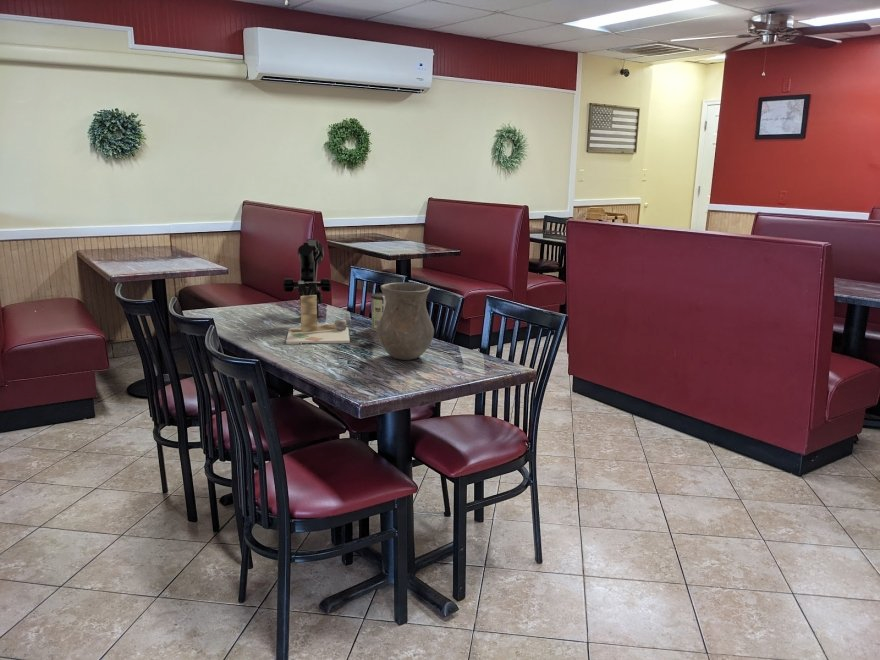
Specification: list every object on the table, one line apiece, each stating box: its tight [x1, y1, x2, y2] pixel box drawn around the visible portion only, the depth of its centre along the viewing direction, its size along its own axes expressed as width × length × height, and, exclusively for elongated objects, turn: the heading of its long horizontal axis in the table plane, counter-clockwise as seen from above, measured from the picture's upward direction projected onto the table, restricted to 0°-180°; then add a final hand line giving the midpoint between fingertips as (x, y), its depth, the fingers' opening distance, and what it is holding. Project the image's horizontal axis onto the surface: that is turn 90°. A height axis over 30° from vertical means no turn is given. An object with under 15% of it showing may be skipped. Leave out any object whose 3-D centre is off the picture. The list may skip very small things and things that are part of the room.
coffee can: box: [370, 292, 384, 332], centre depth 278 cm, size 10×10×14 cm
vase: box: [376, 281, 435, 361], centre depth 236 cm, size 20×19×25 cm
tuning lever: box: [291, 295, 347, 333], centre depth 267 cm, size 22×4×14 cm, turn 121°
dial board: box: [285, 326, 351, 345], centre depth 265 cm, size 23×22×1 cm
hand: (307, 302), depth 275 cm, fingers closed
